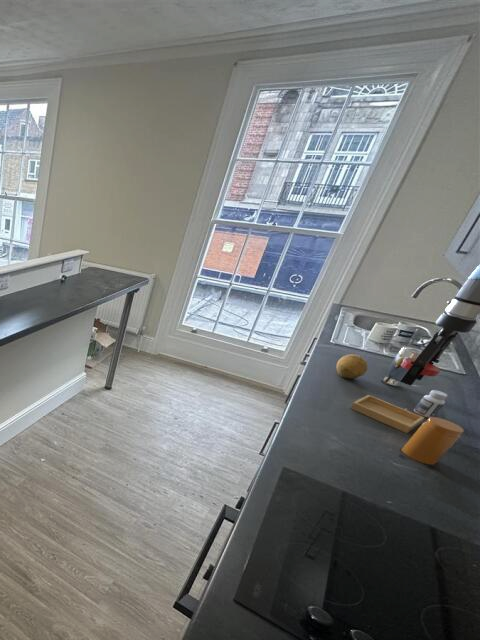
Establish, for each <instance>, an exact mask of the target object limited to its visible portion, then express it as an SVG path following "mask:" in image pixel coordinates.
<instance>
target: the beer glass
mask: <svg viewBox="0 0 480 640" xmlns="http://www.w3.org/2000/svg"><path fill="white" fill-rule="evenodd" d="M422 351H423V350H421V349H419V348H416V347H412V346H403V347H402V348H401V349H400V350H399V351H398V353H397V354H396V355H395V357H394V358H393V360H392V362H391V364H390V366H389V369H388V371H387V372H386V374H385V375H384V376H383V377H382V378H381V379H380V381H381V380H382V381H383V382H385V383H388V384H390V385H394V386H400V387H401V386H402V383H403V382H400V381H401V380H402V378H403V377H404V376H405V374H406V373H407V372H408V370H407V369H405V368H403V367H402V366H401V363H402V362H403V361H404V360H405V359H406V358H411V359H417V357H418V356H419V355H420V354H421V352H422ZM382 381H381V382H382ZM383 382H382V383H383ZM385 383H384V384H385ZM390 385H389V386H390ZM394 386H393V387H394Z"/></svg>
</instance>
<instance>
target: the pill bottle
mask: <svg viewBox="0 0 480 640" xmlns="http://www.w3.org/2000/svg"><path fill="white" fill-rule="evenodd" d="M447 397H448V394H447V393H445V392H443V391H440V390H437V389H432V390H431V391H430V392H429V394H425V395H424V396H423V397H422V398H421V400H419V402H418V403H417V404H416V406H415V407H414V408H413V413H414V414H417V415H419V416H422V417H424V418H427V419H428V418H430V417H436V415H437V414H438V413H439V412H440V410H441V409H442V407H444V405H445V403H446V401H445V400H446V399H447Z"/></svg>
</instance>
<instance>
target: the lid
mask: <svg viewBox="0 0 480 640" xmlns="http://www.w3.org/2000/svg"><path fill="white" fill-rule="evenodd" d="M415 360H416V359H411V358H406V359H405V360H404V361H403V362H402V363H401V366H402V367H403V368H405V369H407V370H409V369H410V368H411V366H412V365H413V364H411V361H413V362H414V361H415ZM420 362H421V361H420ZM440 371H441V368H440V367H438V366H436V365H434V364H433V365H432V364H430V363H427V365H426V366H425V369H424V370H423V371H422V372H421V375H424V377H425V376H426V377H436V376H438V375H439V373H440Z"/></svg>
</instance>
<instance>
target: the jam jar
mask: <svg viewBox="0 0 480 640" xmlns="http://www.w3.org/2000/svg"><path fill="white" fill-rule="evenodd" d="M464 432H465V431H464V428H463V427H461V426H460V425H458V424H456V423H454V422H452V421H449V420H448V419H444V418H441V417H437V416H434V417H430V418H428V417H427V419H426V420H425V421H423V423H422V424H421V425H420V426H419V427H418V428H417V430H416V431H415V432H414V433H413V434H412V436H411V437H410V438H409V439H408V441H407V442H406V443H405V444H403V445H404V446H402V448H401V452H402V453H403V454H404V455H406V456H407V457H409V458H411V459H412V460H415V461H416V462H419V463H422V464H426V465H432V466H433V465H436V464H438V463H439V461H440V460H441V459H442V458H443V456H444V455H445V454H446V453H447V452H448V451H449V450H450V449H451V448H452V447H453V446H454V445H455V443H456V442H457V441H459V439H460V438H461V435H462V434H463V433H464Z"/></svg>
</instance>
